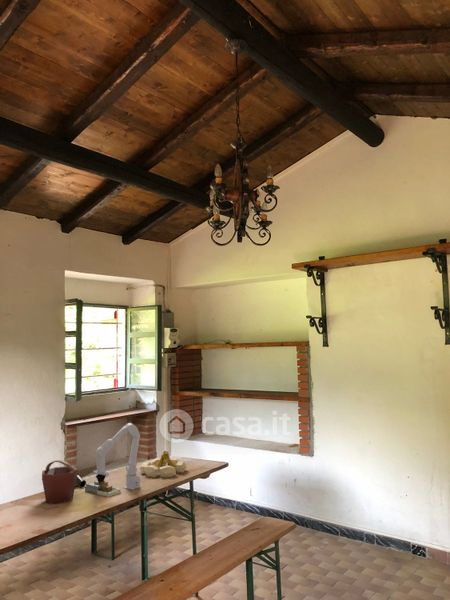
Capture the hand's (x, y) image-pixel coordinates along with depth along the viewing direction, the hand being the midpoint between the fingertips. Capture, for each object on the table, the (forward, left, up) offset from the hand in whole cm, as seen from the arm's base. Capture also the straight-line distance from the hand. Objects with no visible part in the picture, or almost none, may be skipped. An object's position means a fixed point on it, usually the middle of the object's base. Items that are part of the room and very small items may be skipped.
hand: (100, 485), depth 321 cm
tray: (-8, 0, -4) cm, 9 cm away
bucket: (+9, +27, -4) cm, 29 cm away
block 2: (-5, 0, -1) cm, 6 cm away
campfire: (-1, -60, -4) cm, 60 cm away
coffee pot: (+25, +5, -4) cm, 26 cm away
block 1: (-3, +1, -1) cm, 4 cm away
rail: (+4, 0, -4) cm, 6 cm away
